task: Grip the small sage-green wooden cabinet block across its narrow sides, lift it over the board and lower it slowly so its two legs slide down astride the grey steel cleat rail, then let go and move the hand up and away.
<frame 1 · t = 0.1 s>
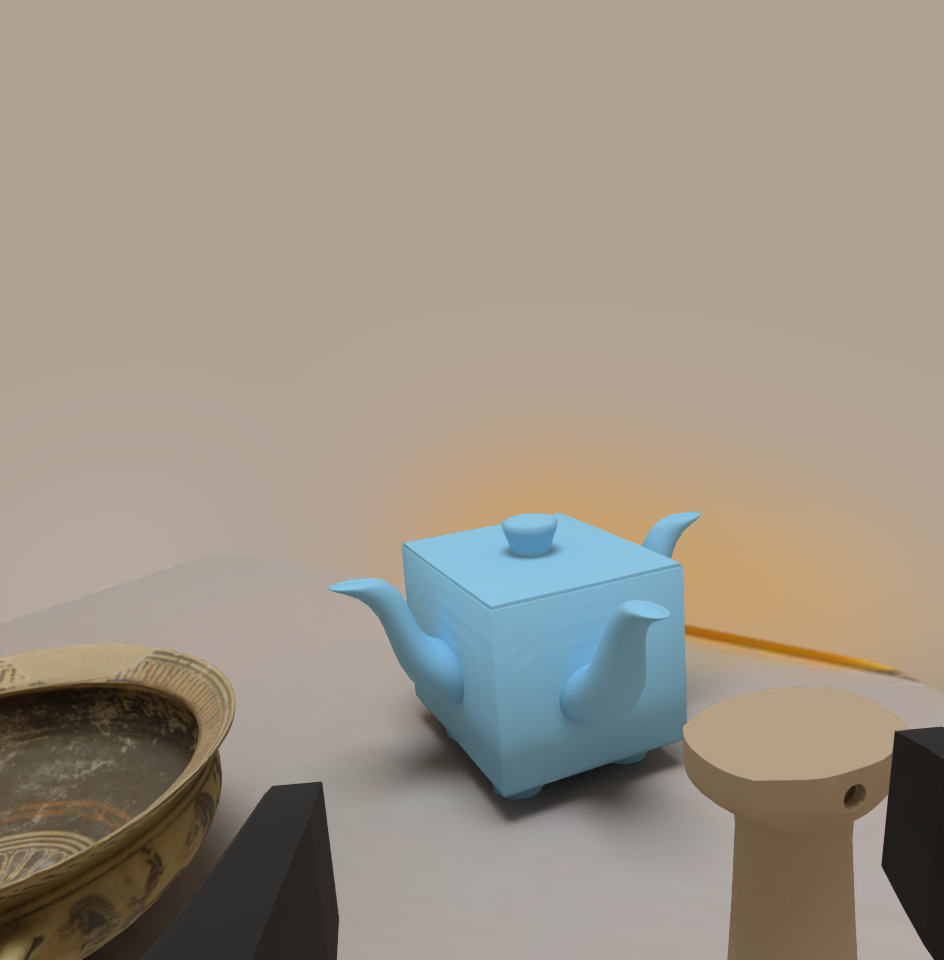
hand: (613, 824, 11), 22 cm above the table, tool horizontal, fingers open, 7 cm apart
ceramic bowl: (4, 942, 40), on the table
teakettle: (550, 751, 53), on the table
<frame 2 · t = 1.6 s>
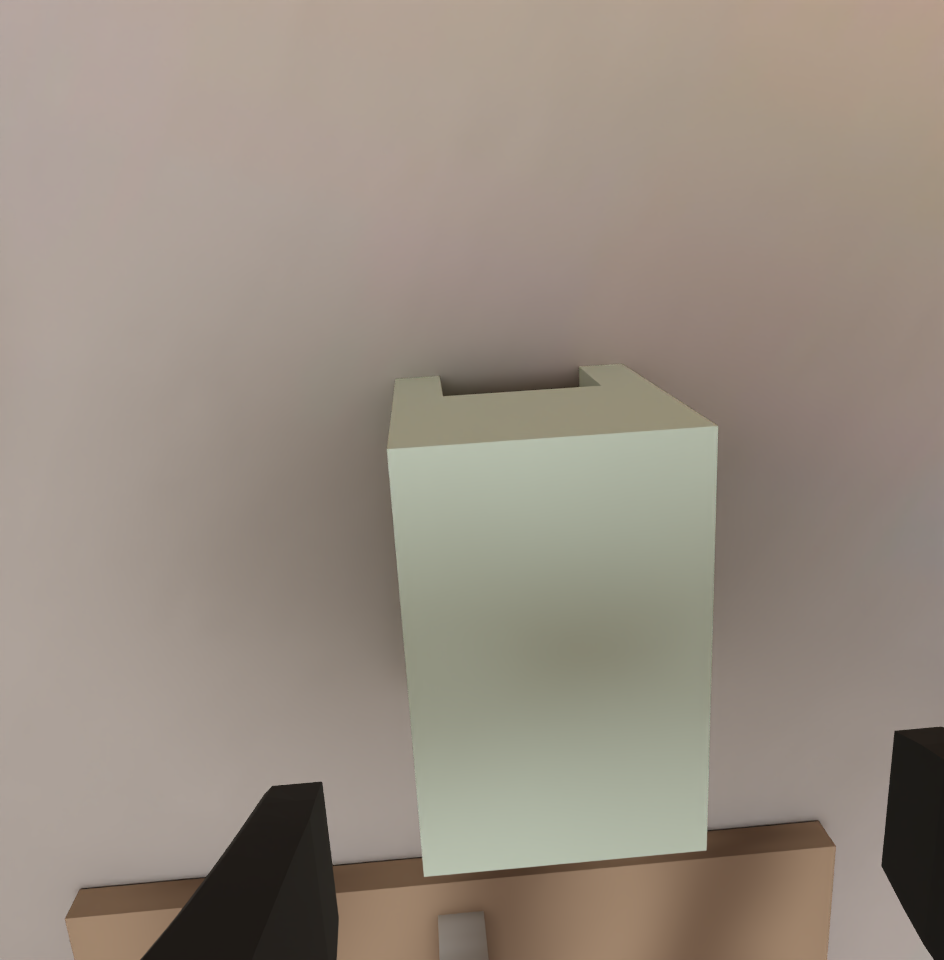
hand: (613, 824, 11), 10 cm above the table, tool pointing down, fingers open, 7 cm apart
cabinet block: (516, 535, 21), on the table
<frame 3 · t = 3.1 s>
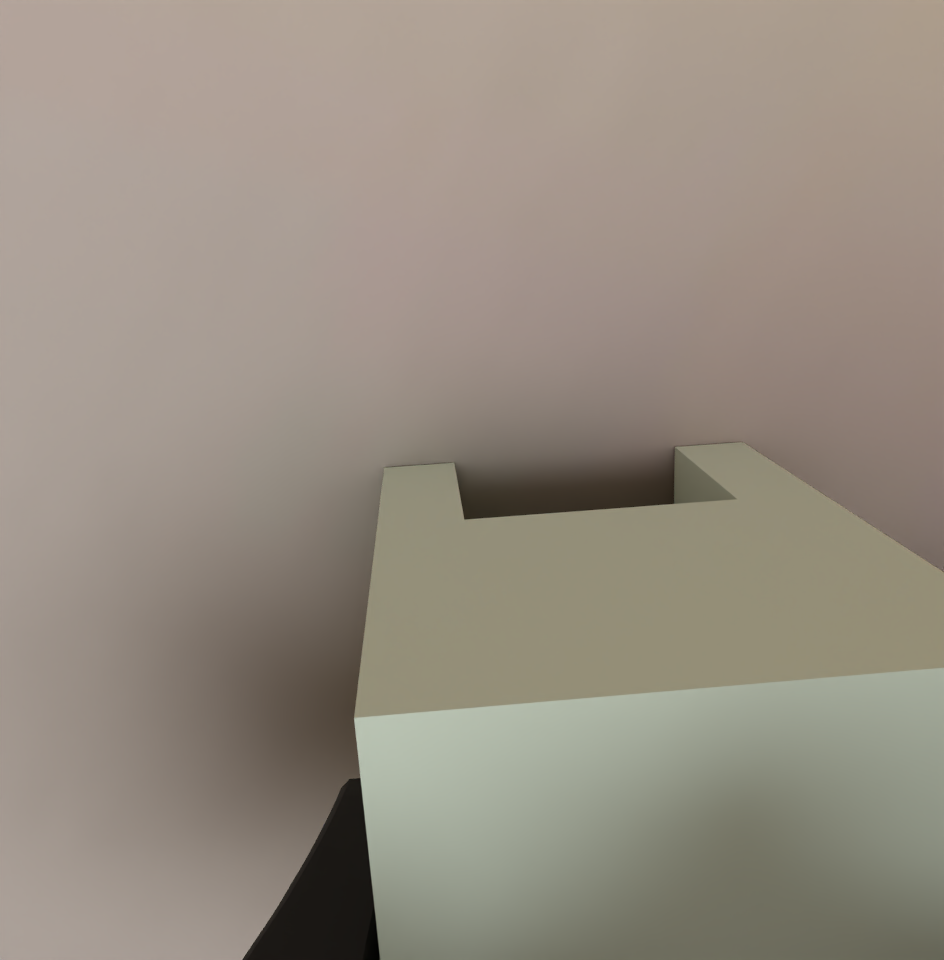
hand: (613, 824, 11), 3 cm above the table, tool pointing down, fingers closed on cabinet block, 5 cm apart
cabinet block: (571, 700, 13), on the table, touching gripper
when the fingers open (4 cm above the table, at t = 8.2 s): cabinet block stays where it is, resting on cleat board.
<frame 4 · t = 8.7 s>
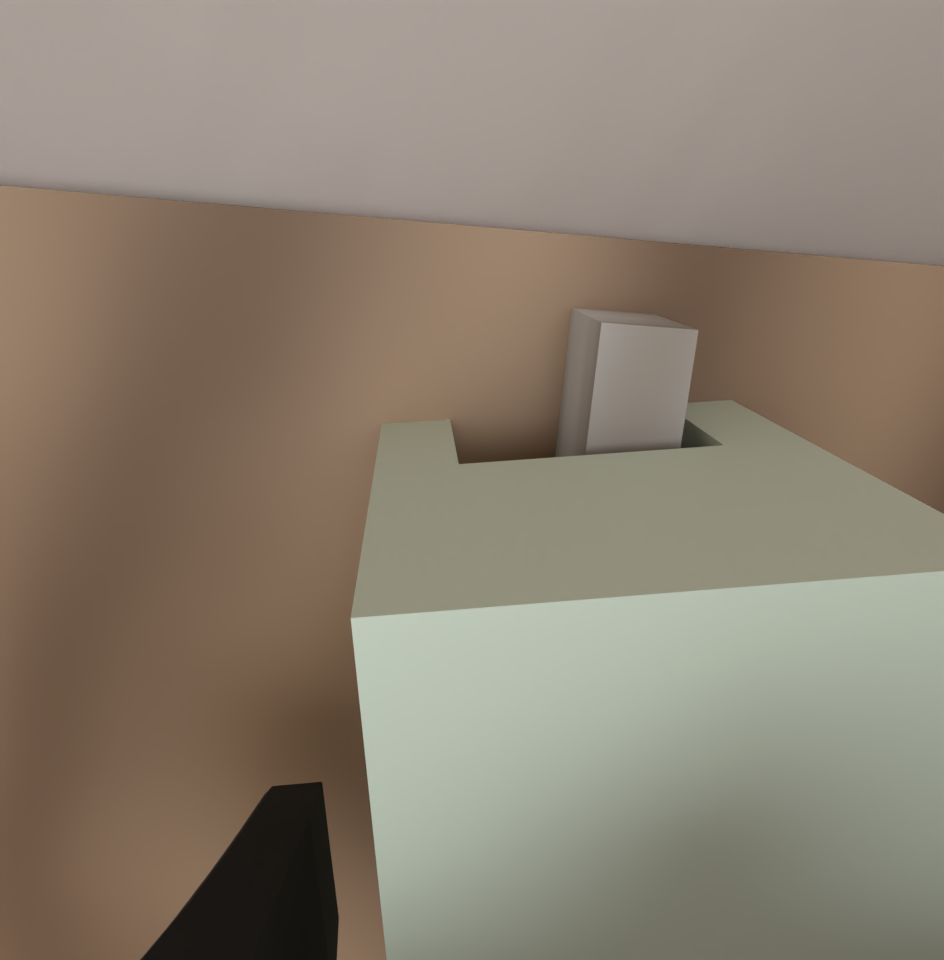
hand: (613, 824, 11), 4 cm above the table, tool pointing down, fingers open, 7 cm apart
cabinet block: (564, 655, 14), point 1 cm above the table, touching cleat board
cleat board: (556, 655, 15), on the table
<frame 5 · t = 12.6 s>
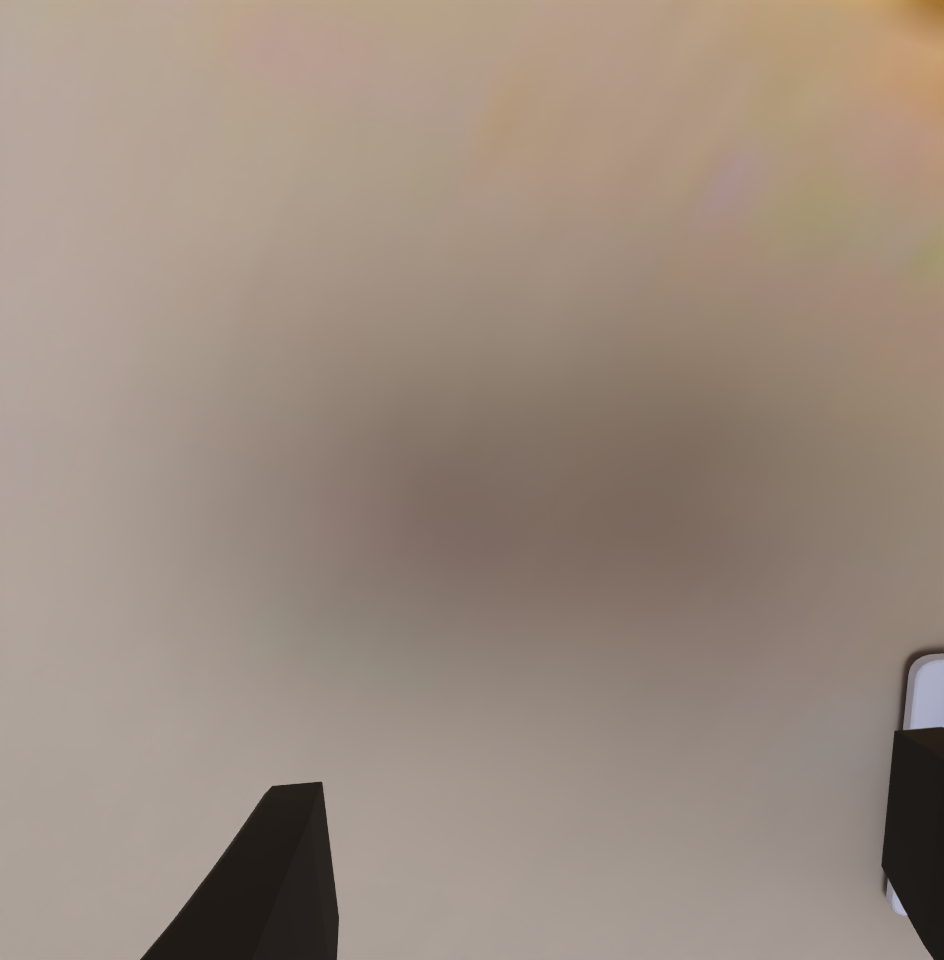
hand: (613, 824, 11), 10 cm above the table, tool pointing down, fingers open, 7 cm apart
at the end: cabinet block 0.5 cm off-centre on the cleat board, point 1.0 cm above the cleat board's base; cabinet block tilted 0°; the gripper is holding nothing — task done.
